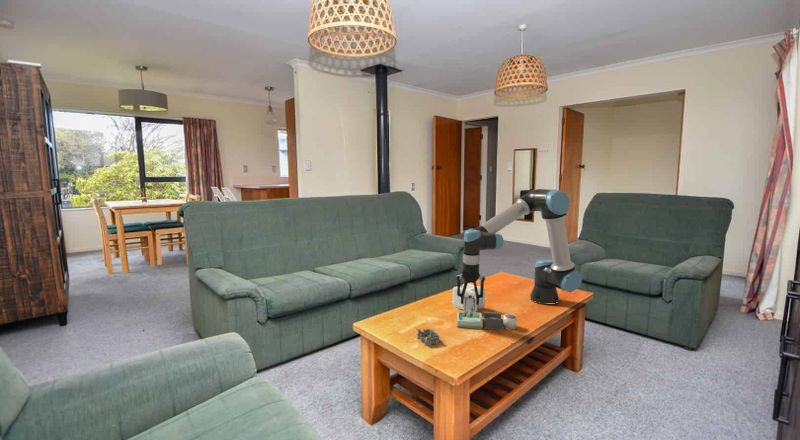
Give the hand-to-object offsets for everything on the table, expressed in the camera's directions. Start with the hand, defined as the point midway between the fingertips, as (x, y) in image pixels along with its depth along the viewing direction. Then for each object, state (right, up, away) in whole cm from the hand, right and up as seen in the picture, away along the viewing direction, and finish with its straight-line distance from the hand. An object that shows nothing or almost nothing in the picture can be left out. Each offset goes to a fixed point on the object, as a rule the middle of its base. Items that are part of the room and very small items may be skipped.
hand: (469, 310), depth 175 cm
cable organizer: (+3, -4, +20) cm, 20 cm away
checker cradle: (+11, -6, -2) cm, 13 cm away
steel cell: (0, -3, 0) cm, 3 cm away
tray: (0, -6, +1) cm, 6 cm away
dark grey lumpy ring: (-21, -9, -17) cm, 29 cm away
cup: (+18, -7, -4) cm, 20 cm away
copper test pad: (+11, -4, -2) cm, 12 cm away
